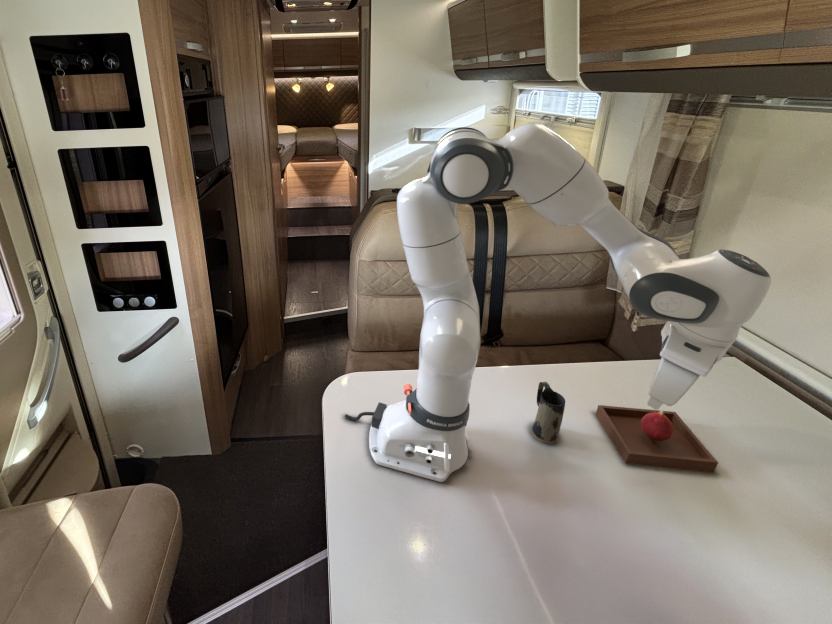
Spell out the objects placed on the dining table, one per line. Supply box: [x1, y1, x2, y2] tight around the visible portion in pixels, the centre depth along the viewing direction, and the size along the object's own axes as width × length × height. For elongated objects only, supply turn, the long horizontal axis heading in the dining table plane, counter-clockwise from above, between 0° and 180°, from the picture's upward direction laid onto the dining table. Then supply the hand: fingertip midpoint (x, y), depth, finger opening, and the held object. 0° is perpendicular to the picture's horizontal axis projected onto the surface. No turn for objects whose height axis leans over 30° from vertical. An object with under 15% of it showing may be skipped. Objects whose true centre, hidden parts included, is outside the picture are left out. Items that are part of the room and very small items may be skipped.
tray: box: [595, 404, 719, 474], centre depth 99 cm, size 18×15×3 cm
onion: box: [641, 410, 673, 441], centre depth 97 cm, size 6×6×8 cm
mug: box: [531, 381, 566, 444], centre depth 100 cm, size 8×6×12 cm
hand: (658, 392), depth 81 cm, fingers open, 8 cm apart
